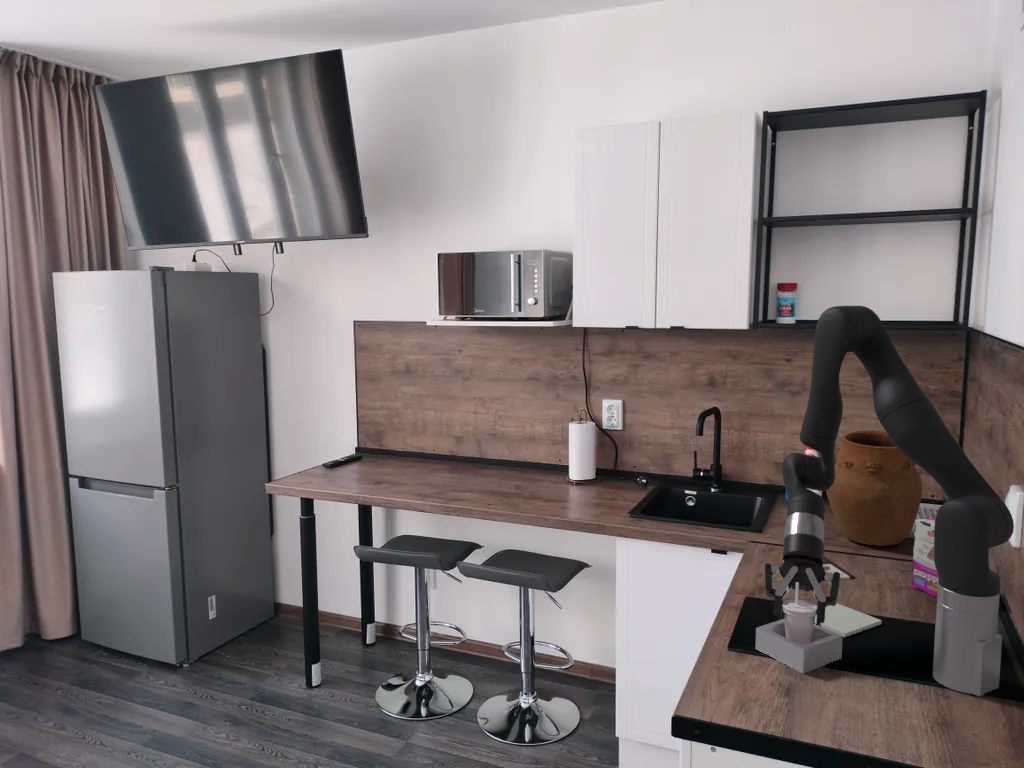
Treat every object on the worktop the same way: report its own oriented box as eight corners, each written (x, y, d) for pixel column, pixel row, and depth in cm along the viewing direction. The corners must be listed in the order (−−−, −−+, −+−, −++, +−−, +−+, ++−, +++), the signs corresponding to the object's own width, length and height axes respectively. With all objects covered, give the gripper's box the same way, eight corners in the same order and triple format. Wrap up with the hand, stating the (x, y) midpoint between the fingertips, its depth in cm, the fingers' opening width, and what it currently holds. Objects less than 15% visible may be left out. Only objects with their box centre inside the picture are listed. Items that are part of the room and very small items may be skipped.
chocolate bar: (817, 552, 202) (855, 576, 184) (817, 555, 202) (855, 580, 184) (784, 553, 201) (819, 578, 183) (784, 557, 201) (819, 582, 183)
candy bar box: (969, 601, 170) (973, 529, 168) (952, 604, 168) (957, 532, 166) (925, 584, 180) (929, 516, 179) (910, 587, 179) (913, 518, 177)
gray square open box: (841, 658, 143) (842, 635, 143) (802, 673, 138) (803, 649, 137) (793, 637, 153) (794, 615, 152) (755, 650, 147) (756, 627, 147)
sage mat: (881, 624, 159) (881, 620, 158) (844, 637, 152) (844, 633, 152) (831, 604, 169) (831, 600, 169) (794, 616, 163) (794, 612, 163)
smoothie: (787, 643, 150) (789, 574, 148) (820, 653, 146) (823, 582, 144) (774, 655, 145) (777, 584, 143) (809, 665, 141) (812, 592, 139)
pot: (819, 546, 208) (823, 438, 205) (828, 523, 229) (832, 424, 226) (919, 560, 197) (925, 445, 193) (918, 534, 218) (924, 430, 215)
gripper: (765, 527, 152) (757, 606, 143) (843, 536, 147) (841, 619, 137) (766, 545, 158) (759, 622, 148) (842, 554, 152) (840, 635, 143)
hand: (798, 620), depth 143 cm, fingers closed on smoothie, 6 cm apart
